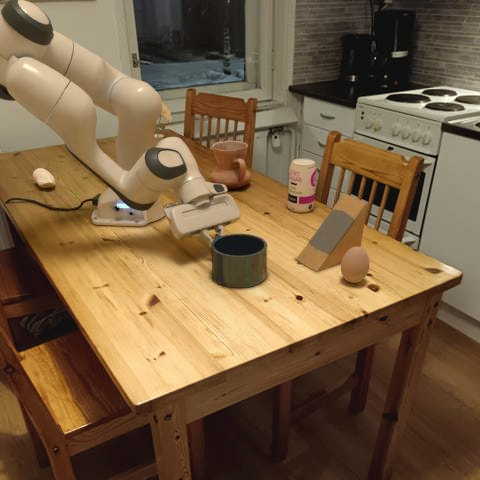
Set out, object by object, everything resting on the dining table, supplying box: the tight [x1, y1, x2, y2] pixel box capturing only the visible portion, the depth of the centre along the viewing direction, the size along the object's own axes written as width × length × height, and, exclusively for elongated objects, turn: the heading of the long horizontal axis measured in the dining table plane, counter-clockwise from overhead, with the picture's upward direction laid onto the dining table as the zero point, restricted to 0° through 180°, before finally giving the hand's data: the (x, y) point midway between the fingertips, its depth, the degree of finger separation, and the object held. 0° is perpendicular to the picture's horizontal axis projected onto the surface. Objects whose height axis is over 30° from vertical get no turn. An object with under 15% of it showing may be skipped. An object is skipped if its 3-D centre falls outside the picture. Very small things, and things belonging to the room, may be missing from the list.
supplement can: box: [287, 158, 318, 214], centre depth 157 cm, size 8×8×15 cm
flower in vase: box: [154, 101, 173, 147], centre depth 185 cm, size 13×11×25 cm
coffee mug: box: [210, 233, 268, 288], centre depth 124 cm, size 18×13×8 cm
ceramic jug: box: [209, 140, 252, 190], centre depth 175 cm, size 18×14×14 cm
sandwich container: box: [295, 192, 368, 272], centre depth 128 cm, size 9×15×15 cm, turn 124°
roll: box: [32, 167, 56, 189], centre depth 176 cm, size 6×12×6 cm, turn 32°
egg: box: [340, 246, 370, 284], centre depth 119 cm, size 7×7×9 cm
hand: (218, 244), depth 129 cm, fingers closed on coffee mug
